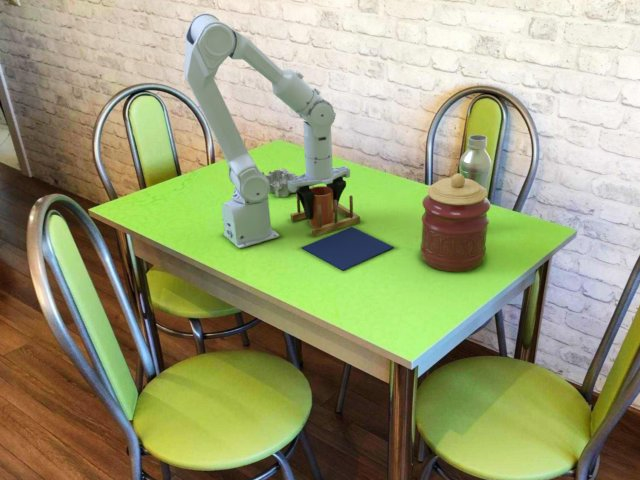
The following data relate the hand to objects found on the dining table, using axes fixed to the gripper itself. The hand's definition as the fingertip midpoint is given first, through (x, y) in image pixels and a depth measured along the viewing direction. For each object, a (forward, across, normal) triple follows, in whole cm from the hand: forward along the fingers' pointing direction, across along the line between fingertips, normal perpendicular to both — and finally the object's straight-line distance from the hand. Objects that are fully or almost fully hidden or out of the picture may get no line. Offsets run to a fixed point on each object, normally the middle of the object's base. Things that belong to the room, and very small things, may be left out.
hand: (320, 214), depth 153 cm
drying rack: (+2, +1, 0) cm, 2 cm away
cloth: (+2, -2, -14) cm, 14 cm away
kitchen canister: (+2, +13, -29) cm, 32 cm away
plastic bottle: (+2, +25, -21) cm, 33 cm away
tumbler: (+2, 0, 0) cm, 2 cm away
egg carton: (+2, +2, +22) cm, 22 cm away
